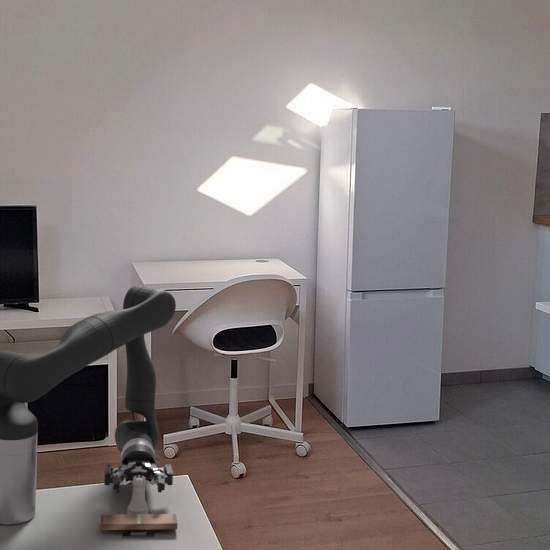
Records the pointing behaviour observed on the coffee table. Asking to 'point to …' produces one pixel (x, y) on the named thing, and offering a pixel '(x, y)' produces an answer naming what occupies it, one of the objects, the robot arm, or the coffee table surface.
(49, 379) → the robot arm
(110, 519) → the beam
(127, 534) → the fulcrum
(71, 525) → the coffee table surface
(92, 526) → the coffee table surface
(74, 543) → the coffee table surface
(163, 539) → the coffee table surface
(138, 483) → the rook chess piece
